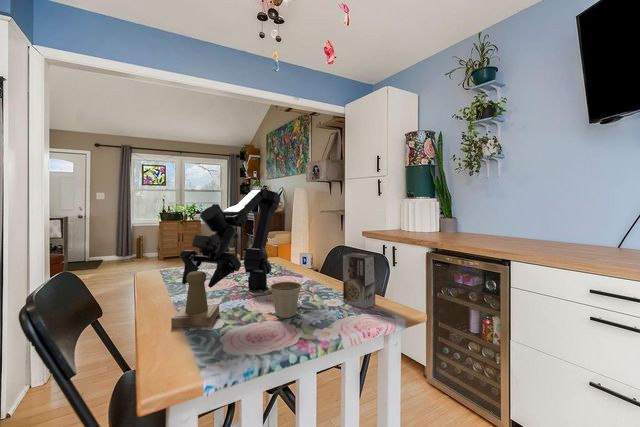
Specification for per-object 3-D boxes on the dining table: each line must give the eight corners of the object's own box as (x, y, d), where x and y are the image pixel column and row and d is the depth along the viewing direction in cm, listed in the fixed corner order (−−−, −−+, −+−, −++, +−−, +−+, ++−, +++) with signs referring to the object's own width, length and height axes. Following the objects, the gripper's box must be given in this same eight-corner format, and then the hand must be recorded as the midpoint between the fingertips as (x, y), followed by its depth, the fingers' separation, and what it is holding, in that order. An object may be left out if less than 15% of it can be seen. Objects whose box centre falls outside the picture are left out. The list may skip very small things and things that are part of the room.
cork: (205, 313, 83) (205, 273, 82) (182, 314, 82) (181, 274, 82) (210, 306, 89) (210, 269, 88) (188, 307, 88) (188, 269, 88)
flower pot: (275, 323, 83) (275, 292, 83) (265, 311, 92) (265, 283, 91) (306, 317, 88) (306, 287, 87) (294, 307, 96) (294, 280, 96)
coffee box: (376, 304, 99) (376, 255, 99) (364, 309, 94) (365, 257, 94) (353, 298, 105) (354, 252, 105) (342, 302, 101) (342, 254, 100)
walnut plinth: (219, 312, 91) (219, 304, 91) (210, 326, 81) (210, 316, 81) (184, 313, 90) (184, 305, 90) (171, 327, 80) (171, 317, 80)
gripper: (183, 223, 92) (153, 267, 82) (234, 225, 86) (209, 272, 76) (201, 245, 100) (176, 287, 90) (250, 248, 94) (228, 294, 84)
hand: (196, 285), depth 85 cm, fingers open, 9 cm apart
